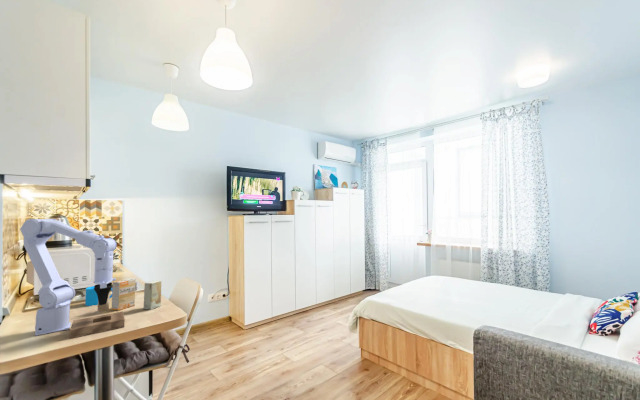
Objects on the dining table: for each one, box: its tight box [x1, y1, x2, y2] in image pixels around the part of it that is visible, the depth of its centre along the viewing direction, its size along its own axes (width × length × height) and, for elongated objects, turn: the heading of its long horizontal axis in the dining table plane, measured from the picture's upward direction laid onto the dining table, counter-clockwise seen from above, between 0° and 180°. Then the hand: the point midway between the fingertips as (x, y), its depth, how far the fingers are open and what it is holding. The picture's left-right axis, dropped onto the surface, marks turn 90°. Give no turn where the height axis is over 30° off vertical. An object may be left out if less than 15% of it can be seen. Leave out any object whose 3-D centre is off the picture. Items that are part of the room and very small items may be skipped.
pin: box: [97, 291, 111, 312], centre depth 110 cm, size 4×4×8 cm
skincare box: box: [143, 280, 162, 310], centre depth 133 cm, size 6×4×12 cm
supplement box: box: [111, 278, 136, 312], centre depth 134 cm, size 8×5×13 cm, turn 161°
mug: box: [84, 285, 112, 307], centre depth 143 cm, size 12×8×8 cm
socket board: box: [69, 311, 126, 339], centre depth 109 cm, size 16×12×3 cm
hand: (102, 303), depth 110 cm, fingers closed on pin, 4 cm apart
